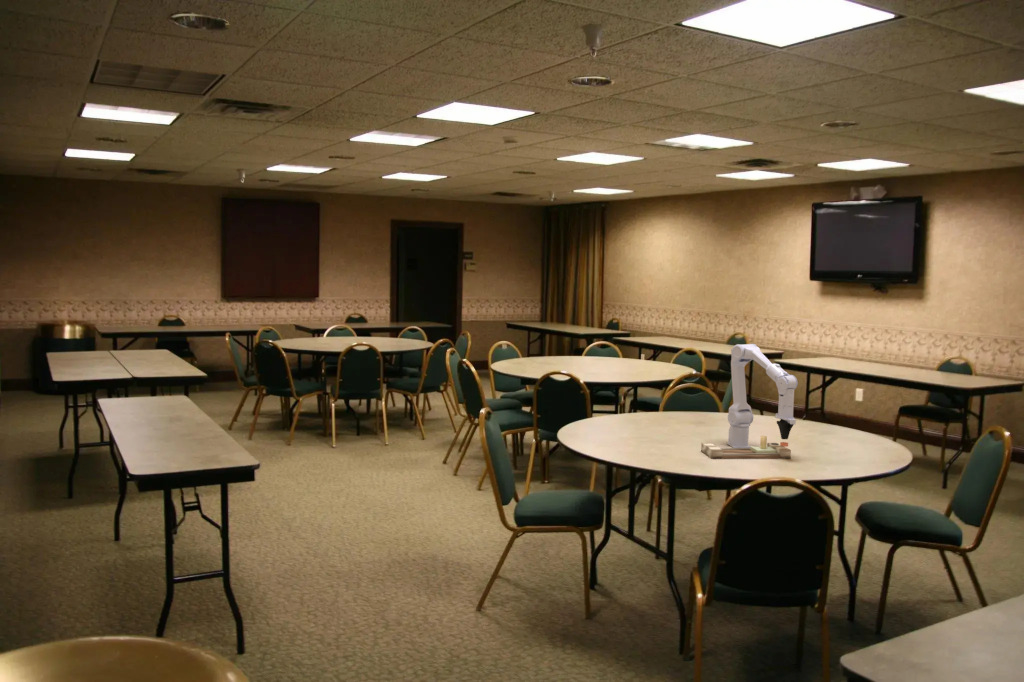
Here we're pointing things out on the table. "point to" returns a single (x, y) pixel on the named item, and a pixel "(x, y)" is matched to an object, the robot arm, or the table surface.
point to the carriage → (763, 447)
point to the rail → (745, 452)
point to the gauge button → (784, 444)
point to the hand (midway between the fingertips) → (784, 439)
